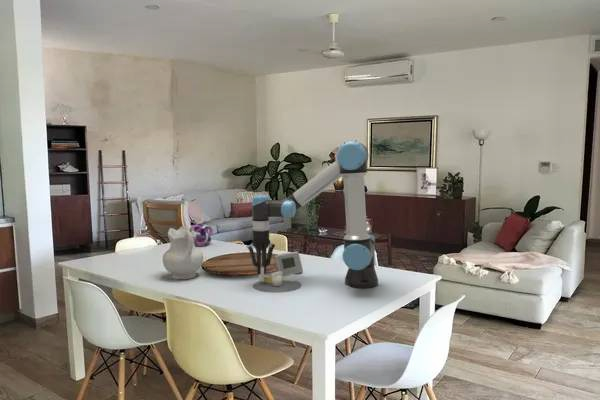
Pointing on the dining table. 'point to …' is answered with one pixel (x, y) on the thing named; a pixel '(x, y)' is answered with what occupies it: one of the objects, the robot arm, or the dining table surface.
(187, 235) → the ceramic pitcher
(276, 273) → the peg
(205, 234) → the sculpture
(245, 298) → the dining table surface
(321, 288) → the dining table surface
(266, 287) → the grey flat disc
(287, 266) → the digital clock
